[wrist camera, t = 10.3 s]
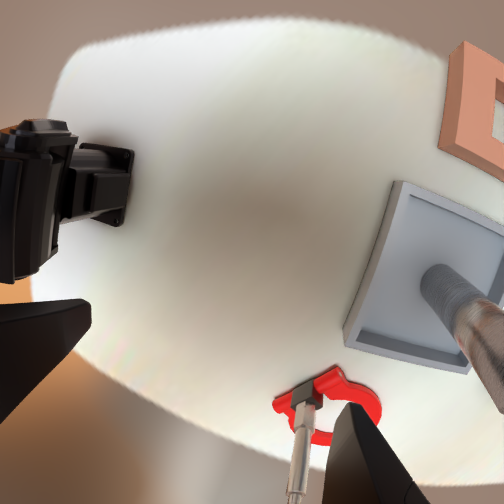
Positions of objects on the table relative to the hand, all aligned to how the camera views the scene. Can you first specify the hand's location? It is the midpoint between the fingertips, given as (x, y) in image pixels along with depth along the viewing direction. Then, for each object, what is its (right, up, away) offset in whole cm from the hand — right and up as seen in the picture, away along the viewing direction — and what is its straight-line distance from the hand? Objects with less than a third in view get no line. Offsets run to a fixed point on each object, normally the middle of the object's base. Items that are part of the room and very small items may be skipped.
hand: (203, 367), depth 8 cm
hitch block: (+20, +13, +6) cm, 24 cm away
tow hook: (+9, -11, +15) cm, 20 cm away
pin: (+15, +1, +9) cm, 17 cm away
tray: (+15, +1, +10) cm, 18 cm away
